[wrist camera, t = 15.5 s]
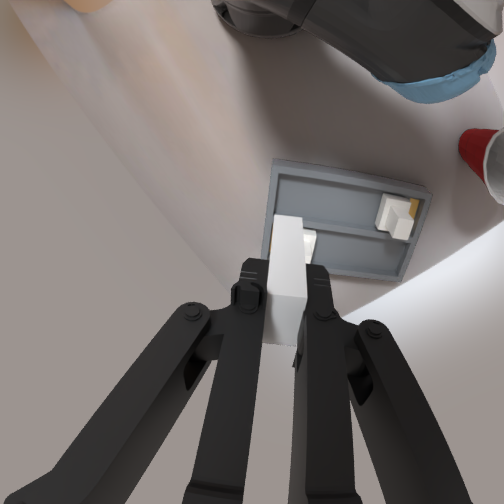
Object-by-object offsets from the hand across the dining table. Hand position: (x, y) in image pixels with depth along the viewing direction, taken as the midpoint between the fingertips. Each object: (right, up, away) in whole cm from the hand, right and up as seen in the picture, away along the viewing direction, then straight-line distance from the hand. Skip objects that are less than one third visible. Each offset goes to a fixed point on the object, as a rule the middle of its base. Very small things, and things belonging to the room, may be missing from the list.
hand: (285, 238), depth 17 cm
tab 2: (+19, +5, +25) cm, 32 cm away
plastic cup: (+33, +16, +20) cm, 41 cm away
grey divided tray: (+12, +4, +29) cm, 32 cm away
